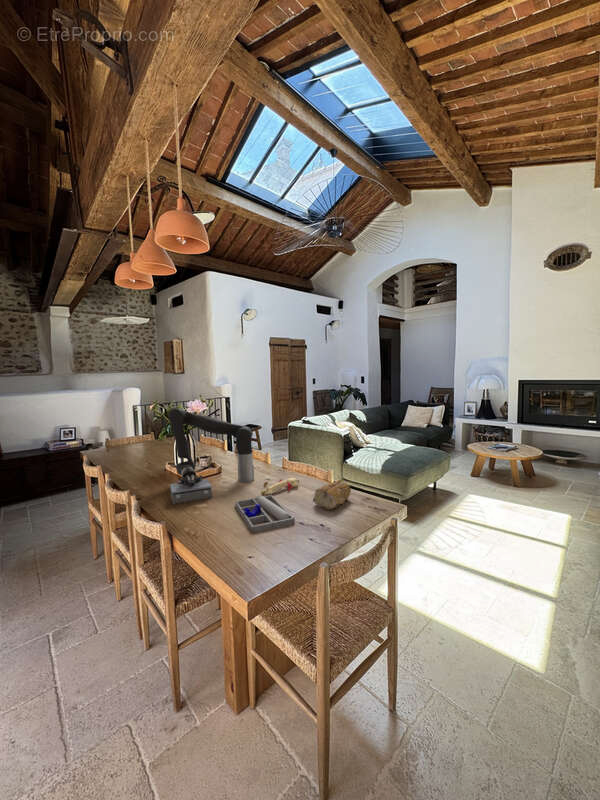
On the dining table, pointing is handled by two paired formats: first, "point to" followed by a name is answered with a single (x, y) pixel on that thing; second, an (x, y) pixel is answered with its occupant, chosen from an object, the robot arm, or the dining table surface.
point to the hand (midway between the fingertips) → (192, 484)
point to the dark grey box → (191, 495)
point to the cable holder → (254, 512)
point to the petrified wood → (332, 495)
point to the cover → (183, 488)
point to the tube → (272, 508)
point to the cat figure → (280, 485)
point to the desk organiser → (262, 515)
